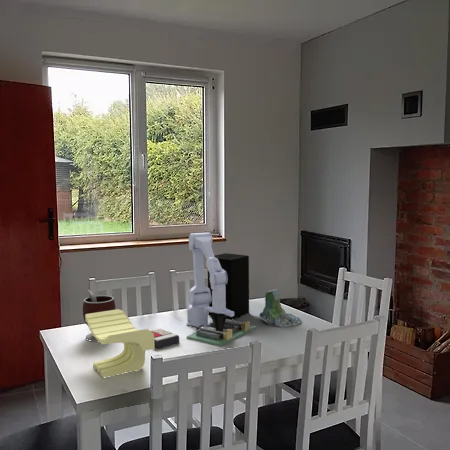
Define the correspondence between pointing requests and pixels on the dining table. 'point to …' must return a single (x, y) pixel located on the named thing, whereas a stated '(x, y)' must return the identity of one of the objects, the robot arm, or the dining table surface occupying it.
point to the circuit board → (221, 342)
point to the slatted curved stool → (119, 341)
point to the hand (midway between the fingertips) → (219, 330)
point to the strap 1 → (211, 329)
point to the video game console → (235, 283)
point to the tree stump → (277, 312)
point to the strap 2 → (233, 321)
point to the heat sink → (226, 334)
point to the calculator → (164, 338)
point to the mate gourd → (97, 307)
